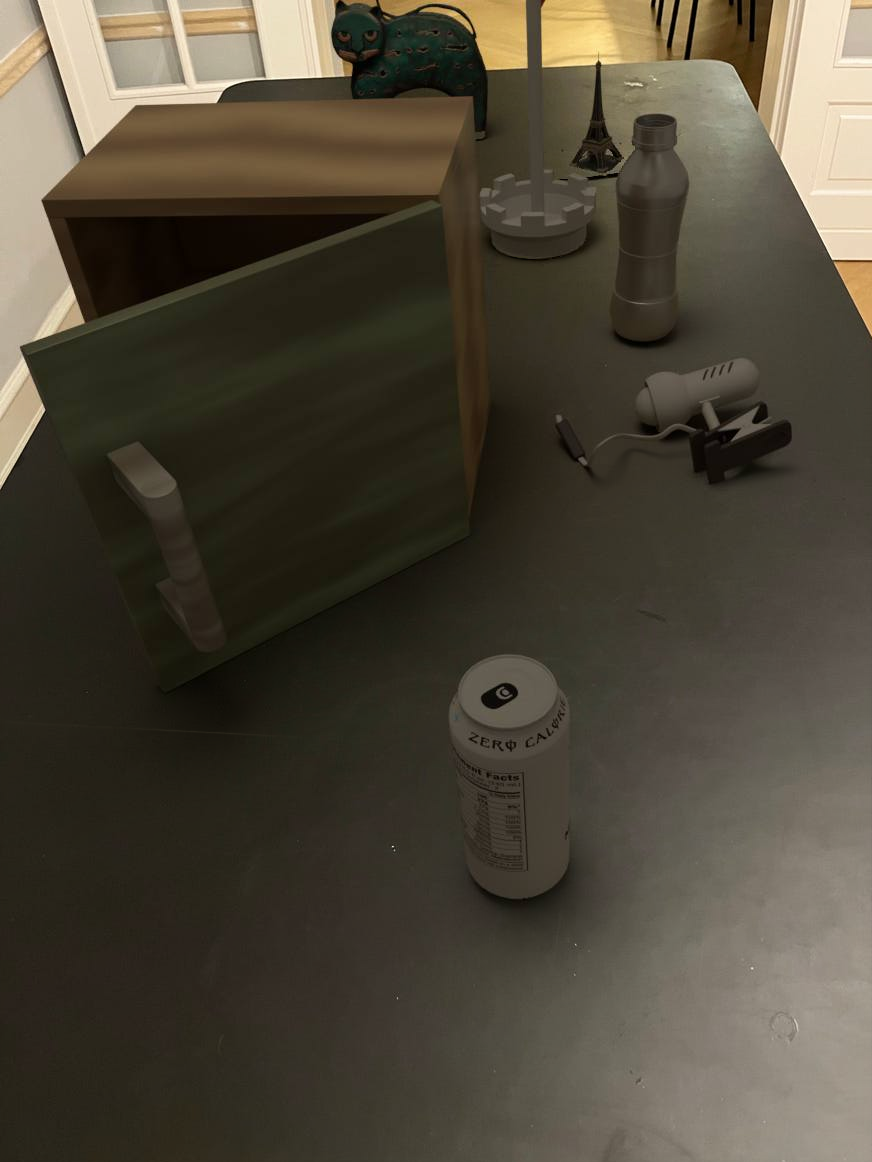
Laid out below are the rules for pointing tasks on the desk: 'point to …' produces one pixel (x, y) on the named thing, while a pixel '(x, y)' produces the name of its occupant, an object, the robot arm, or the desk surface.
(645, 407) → the clip-on lamp
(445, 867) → the desk surface
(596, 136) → the eiffel tower figurine
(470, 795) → the energy drink can
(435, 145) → the cupboard
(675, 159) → the plastic bottle
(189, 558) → the cupboard door
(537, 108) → the flag stand
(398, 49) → the ceramic cat
